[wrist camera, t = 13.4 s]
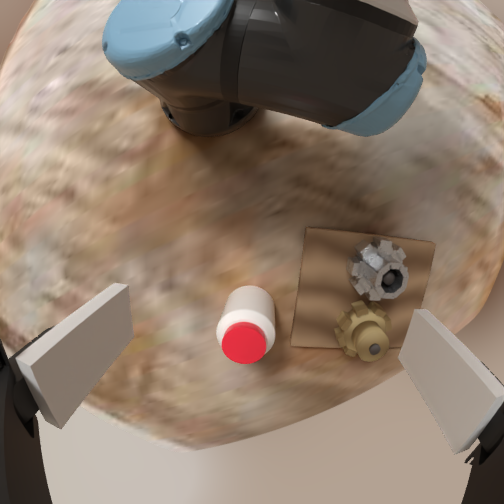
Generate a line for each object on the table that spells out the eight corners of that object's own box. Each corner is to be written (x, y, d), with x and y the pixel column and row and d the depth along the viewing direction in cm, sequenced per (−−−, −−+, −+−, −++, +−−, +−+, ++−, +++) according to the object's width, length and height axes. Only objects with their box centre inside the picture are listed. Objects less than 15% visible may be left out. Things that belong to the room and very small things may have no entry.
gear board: (305, 226, 39) (316, 239, 30) (431, 241, 38) (462, 255, 29) (289, 341, 43) (293, 375, 34) (404, 342, 42) (425, 370, 34)
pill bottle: (276, 327, 43) (278, 368, 32) (229, 330, 44) (218, 371, 33) (272, 282, 41) (272, 316, 30) (222, 287, 42) (206, 321, 31)
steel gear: (351, 233, 37) (368, 243, 30) (403, 239, 37) (426, 250, 30) (342, 291, 39) (354, 311, 32) (392, 293, 39) (411, 312, 32)
